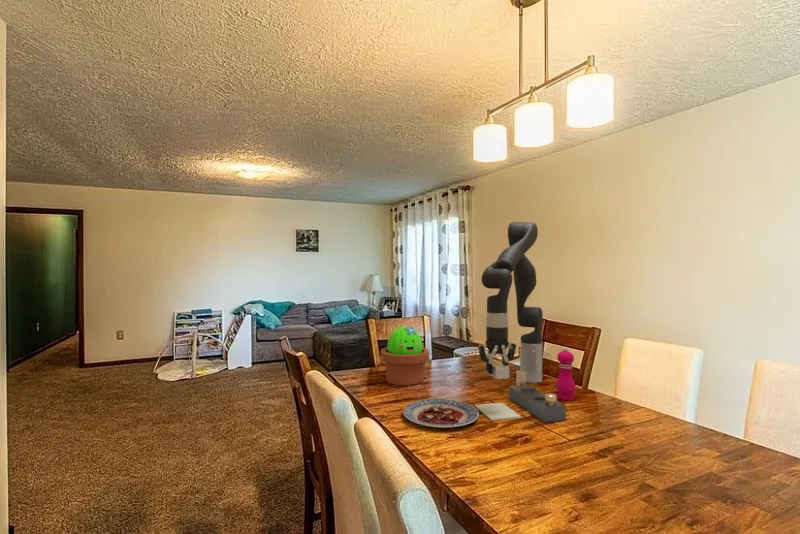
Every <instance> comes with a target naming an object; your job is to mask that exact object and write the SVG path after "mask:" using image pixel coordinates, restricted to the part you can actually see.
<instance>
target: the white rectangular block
mask: <svg viewBox="0 0 800 534" xmlns="http://www.w3.org/2000/svg"><path fill="white" fill-rule="evenodd" d="M485 374H487V375H488V376H490V377H492V378H493V379H494V380H497V379H498V380H499V379H500V380H501V379H509V378H510V365H508V366H507V365H505V364H503V363H502V362H501V361H499V360H496V359H493V360H492V374H489V373H488V372H487V370H486V369H485Z"/></svg>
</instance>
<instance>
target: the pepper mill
mask: <svg viewBox="0 0 800 534" xmlns="http://www.w3.org/2000/svg"><path fill="white" fill-rule="evenodd" d="M556 359H557V361H558V362H559V363H558V367H559V375H558V378H557V380H556V382H555V389H556V391H557V392H556V398H557V399H559V400H561V399H562V401H566V400H567V401H568V402H569V401H570V402H571V401H574V400H575V393H574V392H575V391H577V390H576V389H577V387H576V383H575V381H574V379H573V376H572V369H573V362H574V359H575V357H574V354H573V353H572V352H570V351H569V348H568V347H566V346H564V347H563V348H562V350H561V351H559V352H558V354H557V358H556Z"/></svg>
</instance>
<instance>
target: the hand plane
mask: <svg viewBox="0 0 800 534" xmlns="http://www.w3.org/2000/svg"><path fill="white" fill-rule="evenodd" d="M515 378H516V380H515V381H516V385H509V387H508V388H509V389H508V391H509V392H508V393H509V394H508V396H509V400H510V401H512V402H513V403H515V404H516V405H518V406H520V407H521V409H524V410H525V411H527V412H528V413H529V414H531V415H532V416H534V417H536V418H537V419H539V421H541V422H543V423H551V422H560V421H561V422H563V421H567V417H566V416H567V411H566V409H567V405H566V404H564V403H562V402H560V401H559V400H557V394H555V393H549V392H547V393H544V392H542V391H540V390H539V389H537V388H536V387H533V386H531V385H530V384H527V382H526V372H525V371H523V370H520V369H519V370H516V377H515Z"/></svg>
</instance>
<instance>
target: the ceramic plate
mask: <svg viewBox="0 0 800 534" xmlns="http://www.w3.org/2000/svg"><path fill="white" fill-rule="evenodd" d="M402 413H403V416H404V417H405V418H406V419H408V420H409V421H410V422H412V423H415V424H417V425H421V426H424V427H432V428H441V429H442V428H443V429H444V428H446V429H447V428H456V427H463V426H467V425H469V424H472V423H474V422H475V421H476V420H478V418H479V415H480V411H479V410H478V409H477V408H476V407H475V406H473V405H471V404H469V403H466V402H463V401H459V400H453V399H446V398H444V399H443V398H430V399H429V398H427V399H422V400H417V401H414V402H412V403H409V404H408V405H406V406H405V407H404V408H403V409H402Z"/></svg>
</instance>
